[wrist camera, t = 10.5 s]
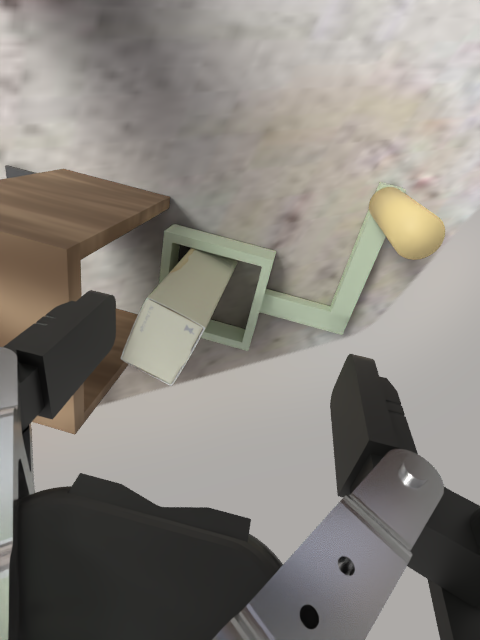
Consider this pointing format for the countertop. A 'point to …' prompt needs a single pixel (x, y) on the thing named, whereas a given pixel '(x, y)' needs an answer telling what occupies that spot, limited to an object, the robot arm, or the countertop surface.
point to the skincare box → (177, 315)
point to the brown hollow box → (64, 261)
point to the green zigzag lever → (381, 221)
